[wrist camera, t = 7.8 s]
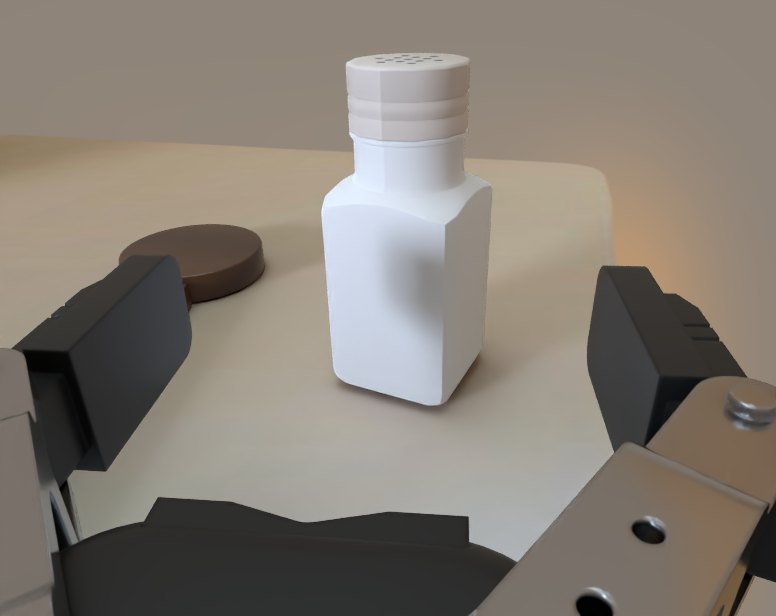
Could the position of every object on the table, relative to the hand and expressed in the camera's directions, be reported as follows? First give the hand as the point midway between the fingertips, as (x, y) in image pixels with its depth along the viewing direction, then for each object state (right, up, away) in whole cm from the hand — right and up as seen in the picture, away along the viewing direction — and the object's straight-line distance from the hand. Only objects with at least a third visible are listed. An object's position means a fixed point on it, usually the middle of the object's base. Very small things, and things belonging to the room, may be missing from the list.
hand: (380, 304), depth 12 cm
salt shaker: (+1, -2, +9) cm, 9 cm away
